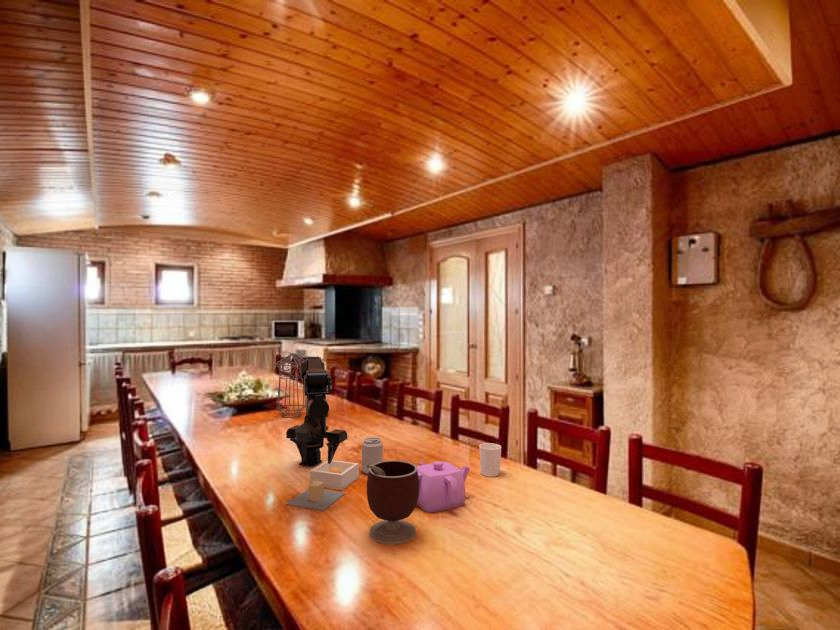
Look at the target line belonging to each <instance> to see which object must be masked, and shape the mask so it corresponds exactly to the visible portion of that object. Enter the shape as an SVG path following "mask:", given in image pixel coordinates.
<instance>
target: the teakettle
mask: <svg viewBox="0 0 840 630" xmlns="http://www.w3.org/2000/svg"><path fill="white" fill-rule="evenodd" d="M416 466H417V472H418V477H419V497H418V502H417V506H418V507H419V508H420V509H422V510H423V511H425V512H426V513H437V512H442V511H447V510H451V509H454V508H459V507H461V506H463V505H464V504H465V501H466V486H465V483H466V480H467V477H468V475H469V472H470V470H471V468H470V467H469V466H467V465H466V466H465V465H463V466H462V467H461V469H460V468H458V467H457V466H455V465H453V464H451V463H449V462H447V461H442V460H441V461H440V460H437V461H433V462H432V463H427V464H426V462H418V465H416Z"/></svg>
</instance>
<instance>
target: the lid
mask: <svg viewBox="0 0 840 630" xmlns="http://www.w3.org/2000/svg"><path fill="white" fill-rule="evenodd" d="M345 495H346V493H345V492H339V491H333V490H328V489H327V490H326V489H325V488H324V482H320V481H315V482H313V483H312V484H310V483H309V485H308V488H307V489H306V490H304V491H303V492H301V493H300V494H298V495H297V496H296V497H294V498H292V499H290V500H288V502H286V503H285V505H286V506H290V507H295V508H303V509H307V510H314V511H320V512H325V511H326V510H328V509H329V508H330V507H331V506H332V505H334V504H335V503H336V502H338V501H339V500H340V499H342V497H344V496H345Z"/></svg>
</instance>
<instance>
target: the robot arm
mask: <svg viewBox="0 0 840 630" xmlns="http://www.w3.org/2000/svg"><path fill="white" fill-rule="evenodd" d="M305 360H306V361H302V362H303V363H302V364H301V369H300V370H301V372H300V379H301V380H302V386H303V385H304V391H305V395H304V397H305V396H306V408H305V416H304V420H303V423H301V424H300V425H293V426H292V427H289V428H287V430H286V432H285V434H286V435H285V438H286V439H289V441H291V442H292V443H294V444H295V445H296V447H297V449H298V452H299V455H300V458H301V462H299V463H298V465H299V466H306V467H316V466H318V465H320V464H321V463H323V460H322V457H321V456H322V455H321V453H322V452H321V449H322V448H324V445H325V444H324V440H325V439H326V441H327V443H326V446H327V460H328V464H330V463H331V462H332V460H334V457H335V454H336V451H337V450H338V448H339V446H340V444H342V443H343V442H344V441H346V440H348V433H347V432H348V431H346V430H345V429H336V428H335V429H333V430H331V431H328V430H329V426H327V418H329V412H330V405H329V403H328V401H327V395H329V396H330V395H331V393H332V392H333V383H332V382H333V381H332V377H331V375H330V374H328V371H327V369H326V368H325V367H326V365H325V363H324V362H323V361H322V357H320V356H307V357H306V358H305Z"/></svg>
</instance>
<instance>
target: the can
mask: <svg viewBox="0 0 840 630" xmlns="http://www.w3.org/2000/svg"><path fill="white" fill-rule="evenodd" d="M381 440H382V439H381V438H380V437H376V436H373V437H372V436H370V437H366V438H364V439H363V442H362V443H361V471H362V472H363V473H364V474H366V475H368V473H369V468H367V465H373V464H375V463H378V462H382V461H384V460H383V459H384V458H383V454H384V453H383V452H384V451H383V450H384V449H383V448H384V447H383V442H382V441H381Z"/></svg>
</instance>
